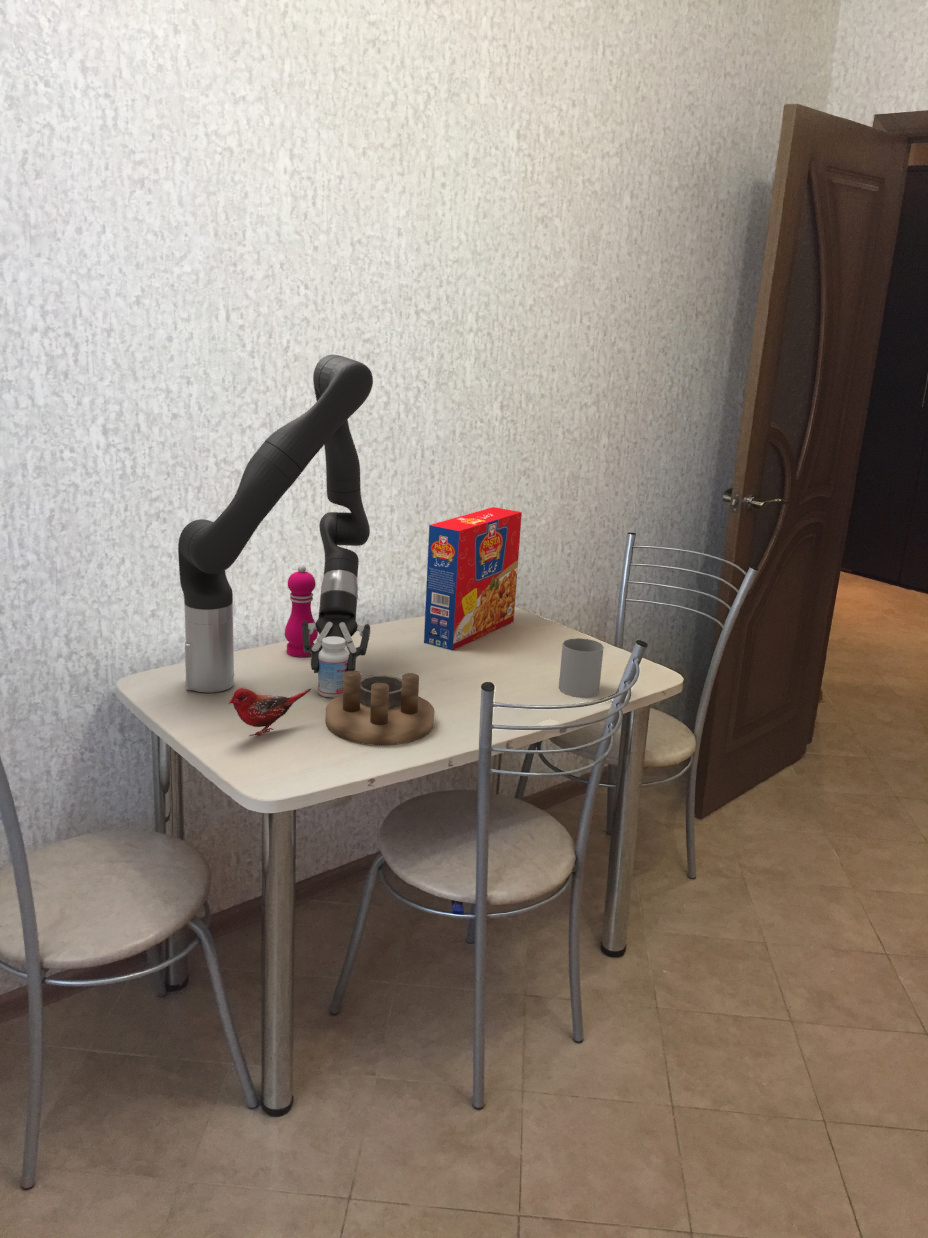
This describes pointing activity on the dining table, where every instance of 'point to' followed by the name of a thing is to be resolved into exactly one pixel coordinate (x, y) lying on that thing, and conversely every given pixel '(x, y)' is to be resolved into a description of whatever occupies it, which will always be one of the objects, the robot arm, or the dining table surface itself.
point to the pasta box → (471, 576)
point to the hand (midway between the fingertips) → (332, 672)
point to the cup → (580, 667)
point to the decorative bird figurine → (261, 707)
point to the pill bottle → (332, 666)
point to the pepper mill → (300, 611)
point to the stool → (380, 710)
